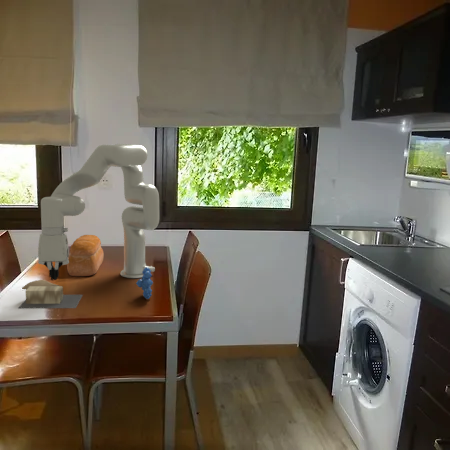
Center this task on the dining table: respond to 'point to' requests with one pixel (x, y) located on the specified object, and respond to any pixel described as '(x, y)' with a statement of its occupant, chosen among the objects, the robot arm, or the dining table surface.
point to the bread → (85, 256)
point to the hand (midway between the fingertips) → (54, 278)
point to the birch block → (44, 295)
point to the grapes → (146, 283)
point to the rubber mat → (67, 302)
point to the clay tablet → (38, 284)
